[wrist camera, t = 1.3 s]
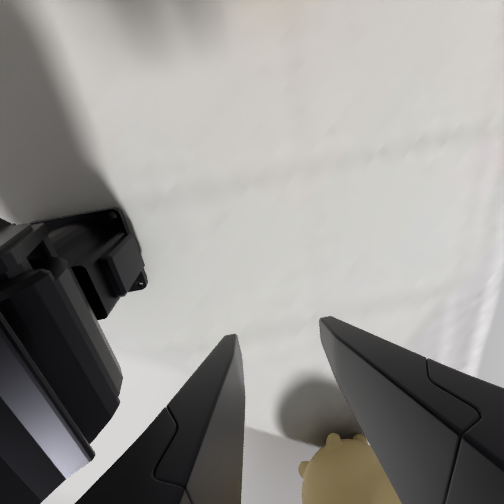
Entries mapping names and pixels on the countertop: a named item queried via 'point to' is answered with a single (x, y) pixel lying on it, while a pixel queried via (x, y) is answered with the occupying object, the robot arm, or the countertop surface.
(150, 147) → the countertop surface
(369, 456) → the beige round figure
